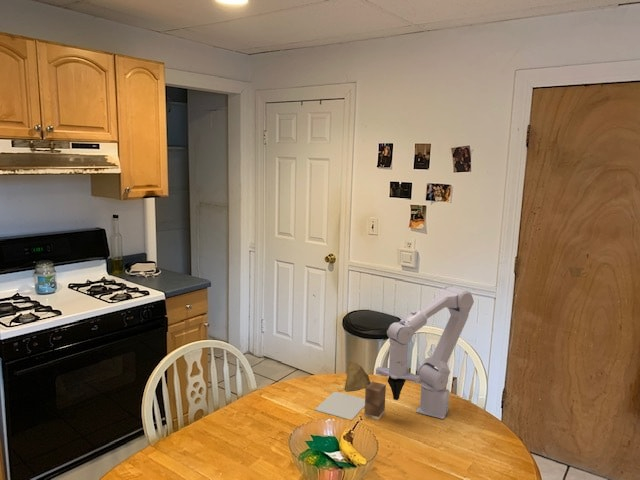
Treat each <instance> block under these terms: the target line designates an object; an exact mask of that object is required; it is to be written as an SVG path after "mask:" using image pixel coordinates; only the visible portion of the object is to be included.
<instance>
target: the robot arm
mask: <svg viewBox="0 0 640 480" xmlns="http://www.w3.org/2000/svg"><path fill="white" fill-rule="evenodd" d="M474 302H475V301H474V297H473V295H472V293H471V292H470V291H469V290H463V289H462V288H461V289H460V288H458V287H455V286H453V285H449V284H448V285H445V286H444V287H443V288H441V289H439V292H438V294H437V296H436V297H434V298H433V299H432V300H431V301H430V302H428V304H426V305H425V306H424V307H423V308H421V310H420V309H415V310H414V309H413V310H412V311H410V313H409V314H408V315H406V316H405V317H403V318H401V320H400V321H396V322H393V323H391V324H390V325H389V327H388V329H387V330H386V335H387V337H388V338H389V359H388V360H389V362H388V367H381V366H377V367H376V368H375V375H381V376H387V377H388V378H387V383H388V386H389V387H390V390H391V393H392V400H395V401H398V400H399V399H400V396H401V392H402V390H403V387H404V385H405V383H406V382H407V381H409V382H412V383H415V384H419V383H420V384H421V385H420V398H419V399H420V402H419V406H418V408H417V409H416V413H418V414H422V415H425V416H430V417H434V418H438V419H441V420H444V419H445V418H446V415H447V414H448V412H449V410H450V408H449V406H450V405H449V404H450V390H449V389H448V388H446V387H447V385H448V383H449V377H450V373H451V370H450V367H449V365H448V362H449V360H450V358H451V355H452V353H453V352H454V349H455V346H456V345H457V342H458V340H459V338H460V335H461V334H462V332H463V329H464V328H465V325H466V323H467V321H468V318H469V316H470V315H469V313H470V311H471V309H472V308H473V305H474ZM445 308H446V309H447V310H448V311H449V315H450V316H449V318H448V321H447V323H446V325H445V328H444V329H443V331H442V334H441V335H440V337H439V340H438V343H437V344H436V347H435V349H434V351H433V354H432V355H431V356H429V357H427V358H425V359H424V361H423V363H422V364H420V365H419V367H418V368H417V374H415V373H412V372H409V371H407V369H408V368H407V365H408V349H409V343H410V342H411V340H412V338H413V336H414V335H415V333H416V332H418V331H419V330H421V329H422V328H423V327H425V325H427V323H428V319H429V318H430V317H432V316H434V315H436V314H437V313H439V312H440V311H441V310H443V309H445Z"/></svg>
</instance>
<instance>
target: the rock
mask: <svg viewBox="0 0 640 480" xmlns="http://www.w3.org/2000/svg"><path fill="white" fill-rule="evenodd" d="M371 382H372V381H371V380H370V375H368V374H367V372H366V371H365V370H364V368H363V366H362V365H360V364H358V363H357V362H356V361H355V362H354V361H348V366H347V373H346V380H345V384H344V387H345V388H344V390H345V392H350V391H358V390H361V389H366V387H367V386H368V385H369V384H370V383H371Z"/></svg>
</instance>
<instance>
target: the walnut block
mask: <svg viewBox="0 0 640 480" xmlns="http://www.w3.org/2000/svg"><path fill="white" fill-rule="evenodd" d="M370 382H371V383H370V384H369V385H368V386H367V387H365V388H364V389H365V391H364V392H365V393H364V399H365V407H364V417H367V418H369V419H373V420H377V421H379V420H380V419H381V418H382V416H383V415H384V414H385V411H386V410H385V409H386V407H385V406H386V394H387V392H386V391H387V387H386V386H387V384H384V383H381V382H375V381H370Z"/></svg>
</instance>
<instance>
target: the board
mask: <svg viewBox="0 0 640 480" xmlns="http://www.w3.org/2000/svg"><path fill="white" fill-rule="evenodd" d="M363 409H365V398H362V397H359V396H355V395H350V394H347V393H343V392H340V391H336V390H335V391H333V392H332V393H331V394H330V395H329V396H328V397H327V398H325V399H324V400H323V401H322V402H321V403H320V404H319V405H317V406H316V407H315V408H314V409H313V410H314V411H315V412H320V413H323V414H327V415H330V416H333V417H337V418H341V419H344V420H347V419H353V420H354V419H355V418H356V416H358V414H359V413H360V412H361V411H362V410H363Z"/></svg>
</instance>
